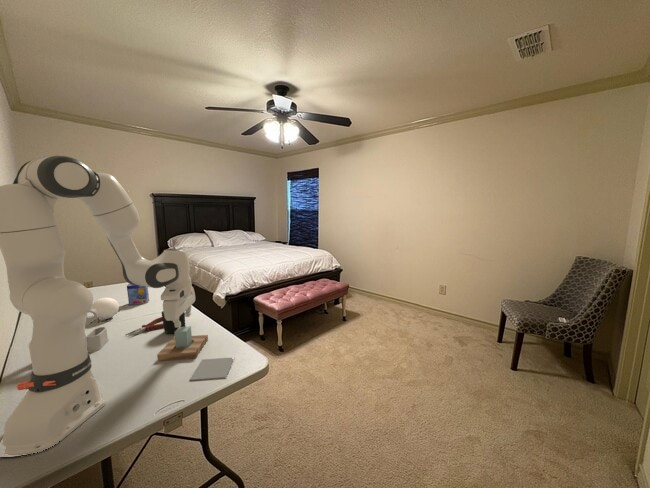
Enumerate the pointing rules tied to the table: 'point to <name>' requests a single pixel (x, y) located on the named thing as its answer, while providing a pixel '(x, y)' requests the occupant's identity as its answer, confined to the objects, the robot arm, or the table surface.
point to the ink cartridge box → (137, 294)
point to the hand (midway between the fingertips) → (183, 321)
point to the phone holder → (95, 334)
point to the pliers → (148, 327)
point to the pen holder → (172, 324)
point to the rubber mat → (212, 369)
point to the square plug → (183, 337)
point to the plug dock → (183, 349)
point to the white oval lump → (106, 307)
